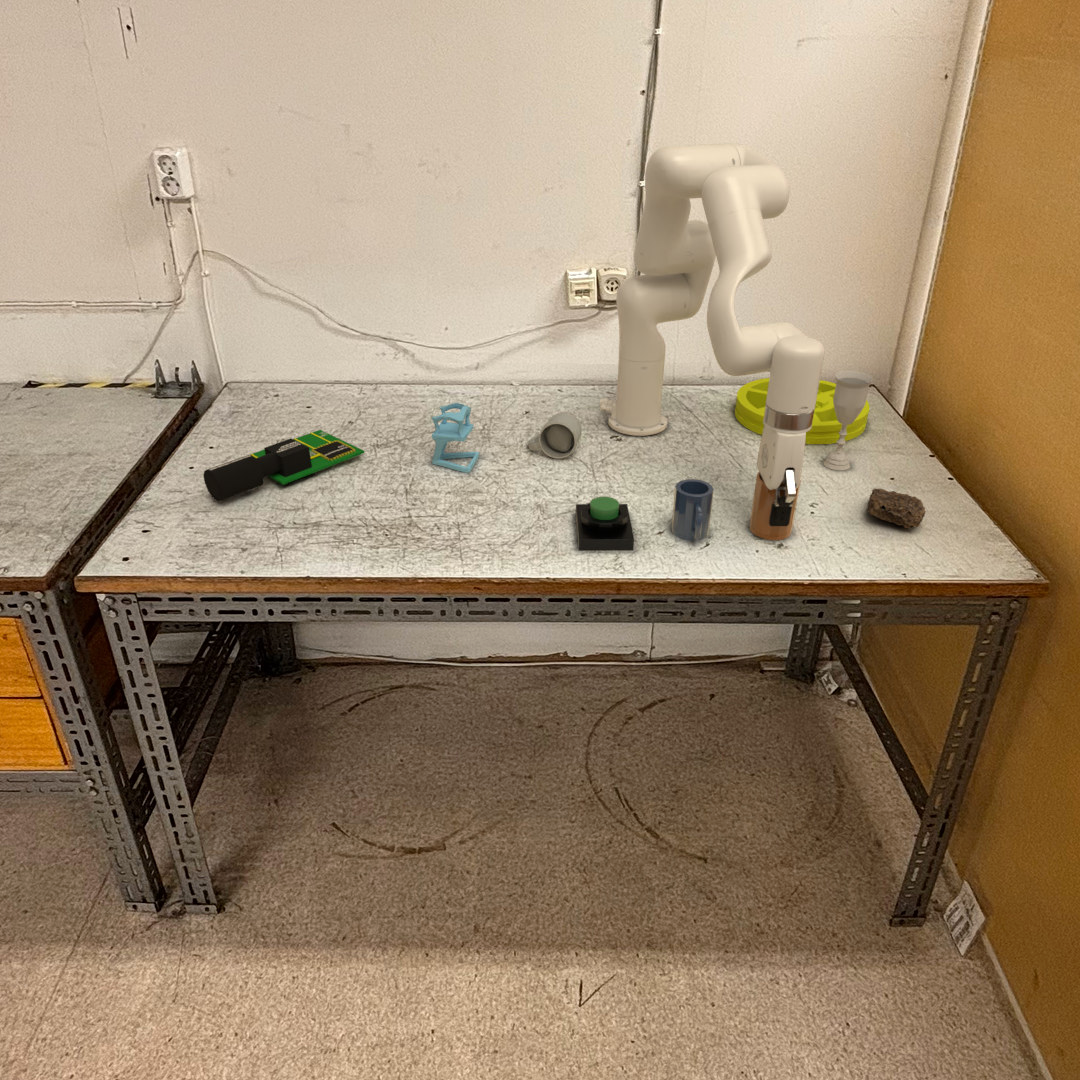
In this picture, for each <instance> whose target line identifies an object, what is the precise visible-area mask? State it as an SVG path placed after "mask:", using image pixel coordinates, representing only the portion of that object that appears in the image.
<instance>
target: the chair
mask: <svg viewBox="0 0 1080 1080" xmlns="http://www.w3.org/2000/svg"><path fill="white" fill-rule="evenodd" d="M453 409H456V410H459V411H458V412H454V411H450V410H453ZM439 410H440V411H441V414H439V415H436V416H431V420H432V422H433V424H434V431H433V432H432V433H431V439H432V440H434V442H435V446H434V452H433V456H432V460H431V464H432V465H434V466H435V465H436V466H440V467H444V468H448V469H450V470H453V471H454V470H455V471H458V472H461V473H466V474H469V473H471V471H472V469H473V468H474V466H475V464H476V463H477V462H478V459H479V458H480V452H479V451H461V452H458V451H457V452H445V450H446V449H447V445H448V444H449V443H451V442H463V443H465V441H466V440H467V438H468V436H469V435H470V434H471V432H473V430H474V424H473V423H471V422H470V416H471V412H472V407H470V406H468V405H466V404H464V403H460V402H453V403H450V404H446V405H444V406H439ZM449 421H451V422H449ZM438 422H440V423H438ZM464 458H472V459H471V460H470V461H469V463H468V464H467V465H466V466H465V465H461V464H458V463H455V462H452V461H447V460H449V459H450V460H452V459H464Z"/></svg>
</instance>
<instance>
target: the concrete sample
mask: <svg viewBox="0 0 1080 1080" xmlns="http://www.w3.org/2000/svg"><path fill="white" fill-rule="evenodd" d="M866 512H868V514H869V515H870V516H874V517H875V518H877V519H880V520H883V521H886V522H888V523H894V524H896V525H898V526H903V527H904V528H906V529H913V528H917V527H919V526H920V525H921V523H922V522H923V520H924V517H925V515H926V507H925V506H924V504H923V501H922V500H921V499H919V498H918V497H916V496H912V495H909V494H908V493H901V492H896V491H895V490H892V491H888V490H886V489H883V488H873V490H871V493H870V494H869V500H868V502H867V507H866Z"/></svg>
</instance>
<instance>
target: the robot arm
mask: <svg viewBox="0 0 1080 1080" xmlns="http://www.w3.org/2000/svg"><path fill="white" fill-rule="evenodd" d="M644 188H645V189H644V191H645V196H644V197H645V199H644V205H643V209H642V213H641V217H640V221H639V227H638V233H637V237H636V242H635V248H634V253H633V254H634V255H633V261H634V265H635V268H636V269H637V271H638V272H639V273H641V275H635V276H632V277H629V278H627V279H626V280H624V281H623V282H622V283H620V285H619V287H618V288H617V291H616V299H615V301H616V309H617V318H618V333H619V334H618V335H619V337H618V338H619V340H618V364H617V384H616V386H617V387H616V399H613V400H611V399H609V398H603V397H601V398H600V400H599V407H600V409H599V410H600V411H601V412H607V413H609V414H610V415H609V416H608V422H607V423H608V426H609V427H610V428H611V429H612V430H614V431H615V432H618V433H619V434H623V435H627V436H635V437H636V436H637V437H638V436H639V437H644V436H652V435H656V434H659V433H663V432H664V431H665V430H666V429H667V427H668V419H667V417H666V415H663V414H662V413H661V412H662V401H663V400H662V399H663V387H664V373H665V361H666V342H665V339H664V337H663V336H662V334H661V333H660V331H659V330H658V327H657V326H658V324H662V323H667V322H668V323H669V322H676V321H683V320H688V319H690V318H693V317H695V316H696V315H697V314H698V312H699V311H700V309H701V307H702V305H703V303H704V298H705V296H706V292H707V289H708V285H709V283H710V279H711V276H712V272H713V268H714V266H715V261H717V264H718V269H719V270H718V271H719V273H718V276H717V279H716V280H715V282H714V285H713V286H712V289H711V291H710V294H709V299H708V304H707V309H706V310H707V311H706V327H707V331H708V336H709V339H710V344H711V346H712V352H713V354H714V357H715V359H716V362H717V364H718V366H719V367H720V369H721V370H722V371H723V373H725V374H727V375H729V376H731V377H740V376H741V377H742V376H749V375H754V374H760V373H761V374H762V373H769V377H768V378H769V385H768V392H767V399H766V406H765V413H764V420H763V424H764V429H763V433H762V435H761V438H760V442H759V448H758V452H757V453H758V454H757V459H756V468H757V471H758V472H759V473H760V475H761V477H762V479H763V481H764V483H765V485H766V486H767V488H768V489H770V490H773V489H775V492H774V503H772V506H771V513H770V519H769V524H770V526H788V525H789V521H790V515H791V510H792V506H793V501H794V498H795V497H796V489H797V488H798V486H799V482H800V480H801V477H802V471H803V467H804V466H803V465H804V457H805V448H806V444H805V438H806V432H808V431H809V430H810V429H811V427H812V422H813V416H814V410H815V405H816V399H817V393H818V388H819V382H820V380H821V375H822V371H823V370H822V369H823V365H824V358H825V347H824V345H823V343H822V342H820V341H819V340H818V339H815V338H812V337H810V336H806V334H804V333H803V332H802V331H801V330H800V329H799V328H798V327H797V326H795V324H793V323H790V322H786V321H778V322H772V323H771V322H769V323H762V324H761V323H760V324H755V325H747V326H741V327H740V326H739V322H738V319H737V314H736V310H735V309H736V308H735V300H736V299H735V298H736V293H737V290H738V289H739V287H740V285H741V283H742V282H745V281H746V280H747V279H749V278H751V277H753V276H754V275H757V274H758V273H759V272H761V271H762V270H764V268H766V267H767V266H768V265H769V264H770V262H771V260H772V258H773V251H772V246H771V244H770V240H769V236H768V233H767V229H766V225H765V222H764V220H767V219H775V218H778V217H779V216H781V214H783V213H784V212H785V210H786V209H787V207H788V204H789V199H790V186H789V183H788V179H787V177H786V175H785V173H784V172H783V170H782V169H781V168H780V166H778V165H777V164H776V163H775V162H774V161H772V160H771V159H769V158H767V157H766V156H764V155H762V154H760V153H759V152H758V151H755V150H754V149H752V148H751V147H749V146H747V145H744V144H741V143H713V144H688V145H687V144H684V145H672V146H663V147H660V148H658V149H656V150H655V151H654V152H653V153H652V154H651V155H650V156H649V159H648V161H647V163H646V166H645V171H644ZM692 199H701V202H702V207H703V210H704V214H705V218H706V222H705V221H703V220H699V219H698V220H697V219H695V220H694V219H693V220H692V219H691V220H689V218H690V215H691V206H692V205H691V204H692V203H691V200H692ZM781 483H785V487H779V486H780V484H781ZM780 491H786V492H785V495H782V496H781V497H780Z"/></svg>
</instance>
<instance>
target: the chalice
mask: <svg viewBox="0 0 1080 1080" xmlns="http://www.w3.org/2000/svg"><path fill="white" fill-rule="evenodd" d="M834 378H835V380H836V382H835V383H836V388H835V393H834V399H833V403H834V410H835V413H836V416H837V420H838V422H839V423H841V424H842V428H841V430H840V432H839V434H840V438H839V440H837V443H836V444H837V448H836V449H835V450H833V451H831V452H830V453H828V456H827V457H826V458H825V460H824V461H823V466H824V467H826V468H827V469H830V470H834V471H846V470H849V469H850V468H851V464H850V460H849V456H848V454H847V453H846V452H844V451H843V447H844V445H845V444H846V443H847V441H845V440H844V438H845V436H846V435H847V432H846V427H847V425H849V424H852V423H853V422H854V420H855V419H856V418H857V417H858V415H859V414H860V413H861V411H862V409H863V407H864V406H865V403H866V400H867V398H868V393H869V387H870V385H871V384H872V383H873V381H874V378H873V376H872V375H870V374H869V373H866V372H863V371H859V370H848V369H847V370H845V369H844V370H840V371H837V372H836V373H835V374H834Z"/></svg>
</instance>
